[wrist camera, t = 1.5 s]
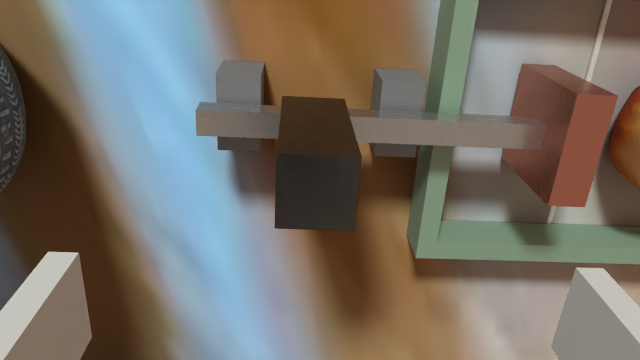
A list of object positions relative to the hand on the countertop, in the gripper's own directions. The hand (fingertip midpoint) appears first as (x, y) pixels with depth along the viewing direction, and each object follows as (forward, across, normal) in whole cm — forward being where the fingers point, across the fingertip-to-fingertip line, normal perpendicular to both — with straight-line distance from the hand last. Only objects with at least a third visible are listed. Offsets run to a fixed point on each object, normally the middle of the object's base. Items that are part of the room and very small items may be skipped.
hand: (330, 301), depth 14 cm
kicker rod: (+19, +4, 0) cm, 20 cm away
